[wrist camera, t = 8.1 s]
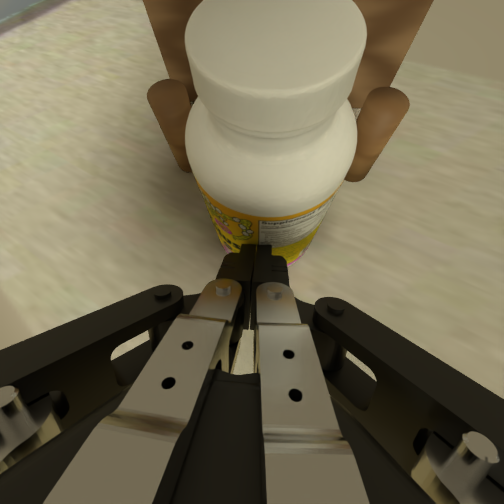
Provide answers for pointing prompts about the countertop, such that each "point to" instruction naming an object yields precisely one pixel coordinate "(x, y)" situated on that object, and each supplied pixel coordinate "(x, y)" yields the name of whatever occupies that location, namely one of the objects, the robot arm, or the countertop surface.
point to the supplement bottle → (272, 115)
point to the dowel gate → (368, 122)
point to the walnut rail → (373, 59)
